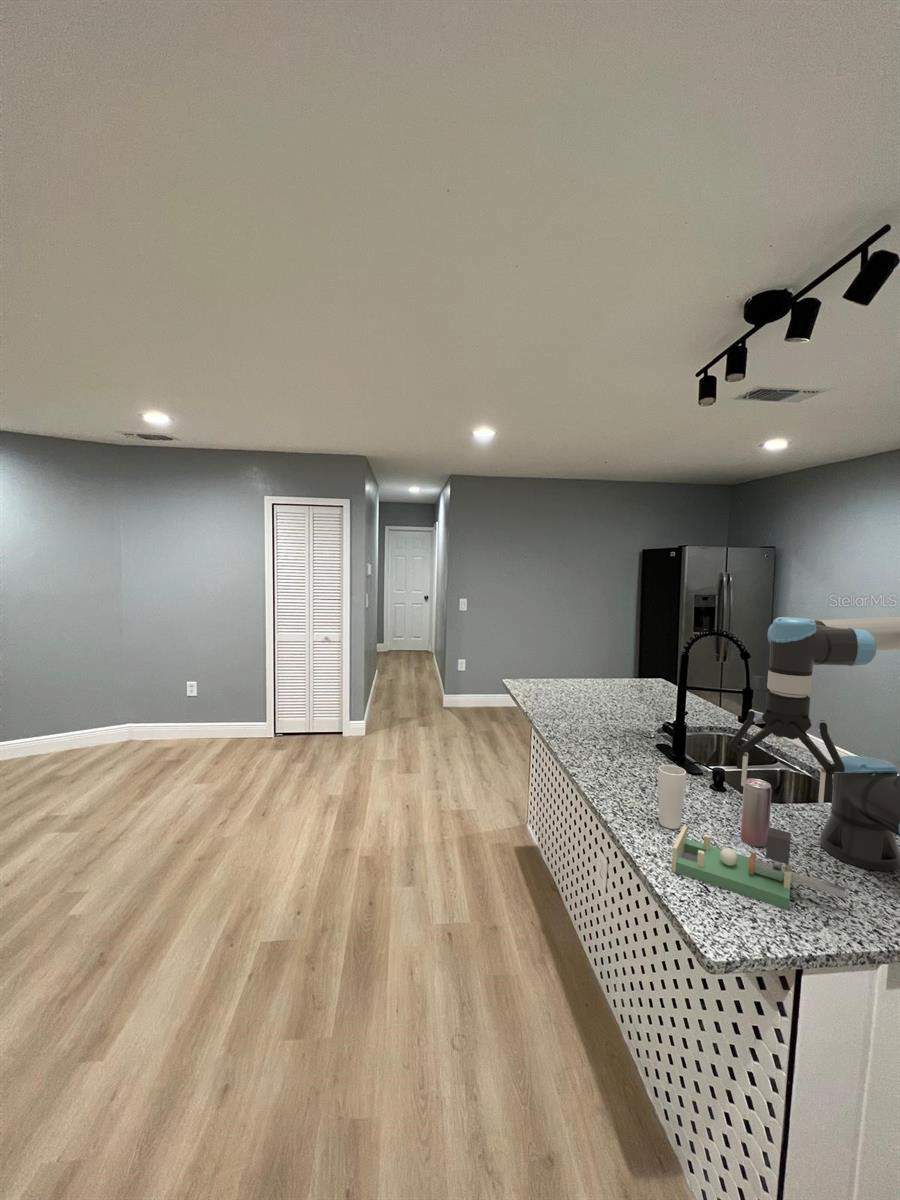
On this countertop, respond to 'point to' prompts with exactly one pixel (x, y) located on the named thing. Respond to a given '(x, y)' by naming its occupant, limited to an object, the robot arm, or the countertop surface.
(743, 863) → the board
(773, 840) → the grey slider
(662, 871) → the countertop surface
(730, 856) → the ball
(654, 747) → the countertop surface
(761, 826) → the beverage can
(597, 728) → the countertop surface
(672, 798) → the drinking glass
